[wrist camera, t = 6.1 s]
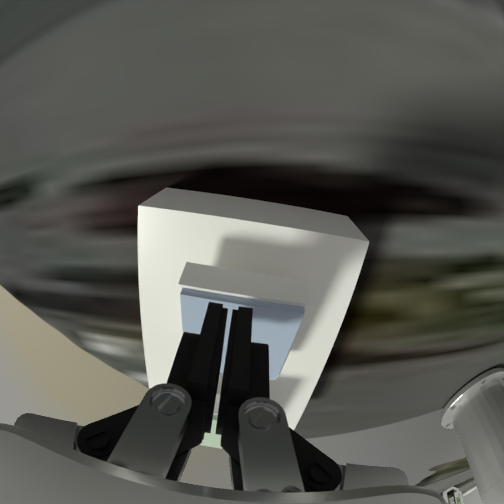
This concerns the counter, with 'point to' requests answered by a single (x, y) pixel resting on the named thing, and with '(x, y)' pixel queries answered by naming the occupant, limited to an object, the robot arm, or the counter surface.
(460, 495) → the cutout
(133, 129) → the counter surface
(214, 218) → the switch box
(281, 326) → the slate rocker
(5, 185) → the counter surface
